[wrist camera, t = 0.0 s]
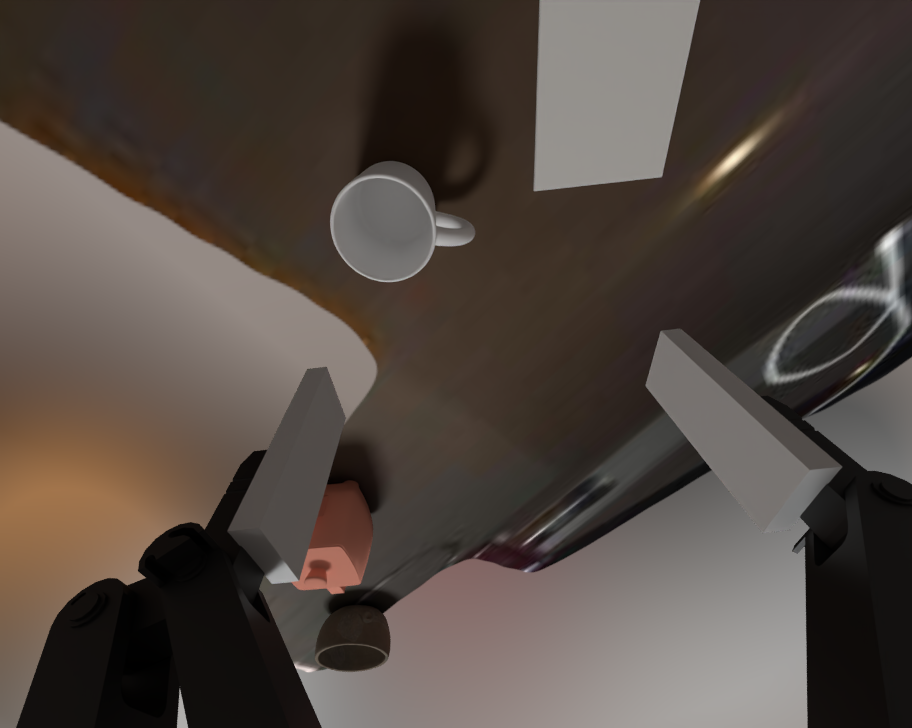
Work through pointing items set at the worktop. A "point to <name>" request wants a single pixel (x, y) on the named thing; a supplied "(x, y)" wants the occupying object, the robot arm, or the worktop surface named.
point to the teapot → (338, 540)
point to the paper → (608, 88)
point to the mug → (392, 223)
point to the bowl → (353, 639)
